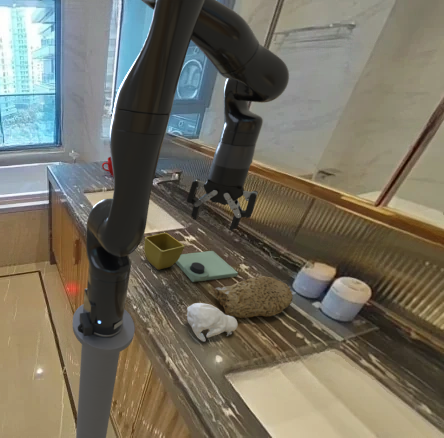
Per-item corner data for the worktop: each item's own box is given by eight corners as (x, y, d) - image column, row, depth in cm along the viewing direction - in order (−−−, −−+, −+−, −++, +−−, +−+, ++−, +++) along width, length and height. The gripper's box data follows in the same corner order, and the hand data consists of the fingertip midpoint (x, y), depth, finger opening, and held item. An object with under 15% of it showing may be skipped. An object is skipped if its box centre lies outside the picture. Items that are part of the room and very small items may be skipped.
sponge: (231, 329, 72) (315, 316, 70) (230, 303, 69) (317, 289, 67) (206, 299, 84) (276, 287, 82) (205, 276, 82) (277, 264, 80)
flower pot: (161, 253, 98) (166, 231, 94) (179, 268, 91) (185, 245, 87) (140, 259, 95) (144, 236, 91) (157, 275, 88) (162, 251, 84)
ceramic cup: (96, 174, 169) (97, 157, 165) (121, 171, 174) (123, 155, 169) (106, 181, 159) (107, 164, 154) (133, 178, 163) (135, 161, 158)
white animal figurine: (189, 296, 68) (236, 297, 69) (178, 321, 72) (223, 322, 73) (202, 317, 62) (253, 318, 63) (190, 343, 66) (238, 343, 67)
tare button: (194, 274, 84) (196, 270, 83) (187, 267, 87) (189, 262, 86) (205, 273, 85) (207, 268, 84) (198, 266, 88) (199, 261, 87)
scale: (191, 285, 84) (193, 277, 83) (168, 259, 95) (169, 251, 94) (239, 279, 86) (243, 271, 85) (211, 253, 98) (213, 246, 96)
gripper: (193, 160, 66) (179, 220, 74) (266, 173, 58) (241, 239, 66) (202, 153, 71) (188, 210, 79) (270, 164, 63) (247, 226, 71)
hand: (212, 223), depth 72 cm, fingers open, 8 cm apart
